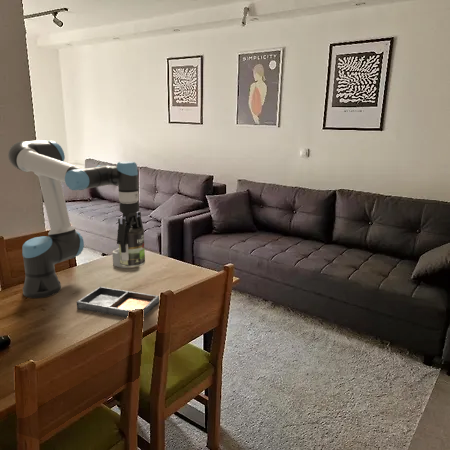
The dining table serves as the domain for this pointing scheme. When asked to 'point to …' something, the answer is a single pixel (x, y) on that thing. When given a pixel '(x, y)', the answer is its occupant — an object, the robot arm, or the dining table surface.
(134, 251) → the coffee can
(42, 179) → the robot arm
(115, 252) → the lumpy-topped squat cylinder
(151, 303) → the grey divided tray
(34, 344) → the dining table surface
